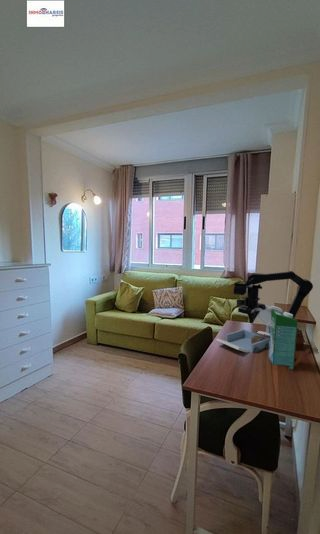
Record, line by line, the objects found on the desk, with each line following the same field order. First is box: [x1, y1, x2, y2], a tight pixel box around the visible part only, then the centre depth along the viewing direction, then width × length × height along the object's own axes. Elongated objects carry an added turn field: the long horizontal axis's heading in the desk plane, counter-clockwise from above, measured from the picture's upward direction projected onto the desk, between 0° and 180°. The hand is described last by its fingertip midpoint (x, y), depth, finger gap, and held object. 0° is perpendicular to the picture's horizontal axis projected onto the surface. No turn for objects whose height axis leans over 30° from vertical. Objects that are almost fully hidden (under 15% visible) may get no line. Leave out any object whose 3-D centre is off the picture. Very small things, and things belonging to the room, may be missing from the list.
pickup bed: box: [225, 329, 270, 354], centre depth 136 cm, size 19×16×6 cm
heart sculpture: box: [256, 304, 284, 337], centre depth 156 cm, size 16×5×18 cm, turn 61°
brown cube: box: [251, 336, 263, 344], centre depth 134 cm, size 4×4×4 cm
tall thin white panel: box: [215, 337, 249, 354], centre depth 129 cm, size 14×1×9 cm
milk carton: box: [267, 309, 299, 370], centre depth 116 cm, size 9×9×25 cm
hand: (251, 323), depth 140 cm, fingers closed
